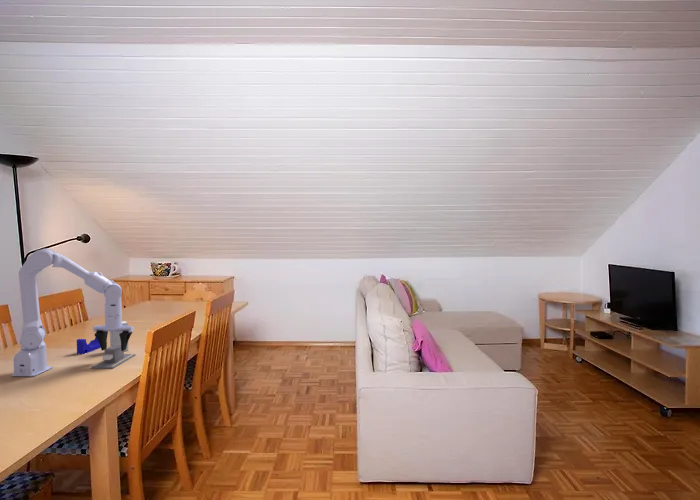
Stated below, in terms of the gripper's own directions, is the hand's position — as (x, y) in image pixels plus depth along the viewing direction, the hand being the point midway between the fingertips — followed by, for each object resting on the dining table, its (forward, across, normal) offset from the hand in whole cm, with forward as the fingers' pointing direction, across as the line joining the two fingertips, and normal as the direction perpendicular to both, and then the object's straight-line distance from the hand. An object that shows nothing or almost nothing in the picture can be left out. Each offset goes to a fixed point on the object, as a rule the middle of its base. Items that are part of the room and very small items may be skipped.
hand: (113, 350), depth 163 cm
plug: (+4, 0, +1) cm, 4 cm away
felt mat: (+5, 0, 0) cm, 5 cm away
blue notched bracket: (+5, +19, -15) cm, 25 cm away
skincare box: (+5, +6, -14) cm, 16 cm away
